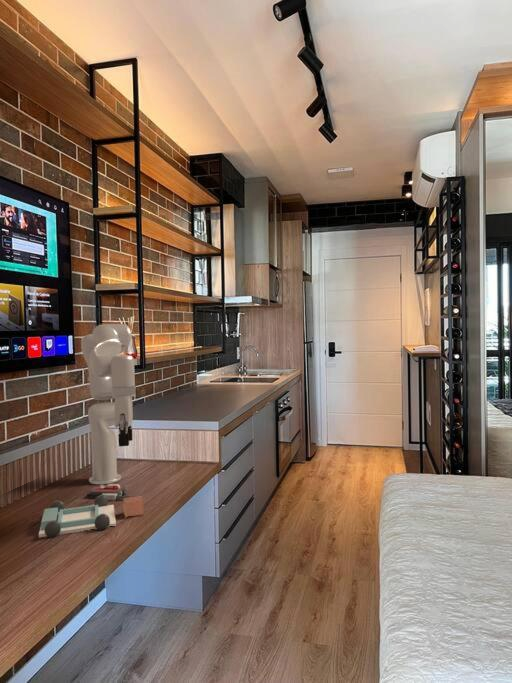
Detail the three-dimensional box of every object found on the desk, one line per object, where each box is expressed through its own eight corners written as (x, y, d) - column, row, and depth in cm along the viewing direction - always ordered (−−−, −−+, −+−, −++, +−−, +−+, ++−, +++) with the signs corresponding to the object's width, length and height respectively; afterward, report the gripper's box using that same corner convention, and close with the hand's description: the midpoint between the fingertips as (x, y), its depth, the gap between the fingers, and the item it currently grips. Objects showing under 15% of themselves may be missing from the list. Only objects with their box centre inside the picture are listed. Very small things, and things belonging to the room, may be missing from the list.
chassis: (44, 515, 165) (44, 502, 165) (113, 506, 172) (113, 493, 172) (38, 539, 146) (37, 524, 146) (116, 528, 153) (115, 513, 152)
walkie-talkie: (83, 501, 180) (136, 502, 177) (82, 489, 180) (136, 489, 177) (94, 493, 188) (145, 494, 186) (94, 481, 188) (144, 482, 185)
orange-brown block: (123, 513, 166) (123, 498, 166) (142, 510, 168) (141, 495, 167) (124, 518, 161) (124, 502, 161) (143, 515, 163) (143, 500, 163)
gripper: (115, 390, 175) (118, 439, 174) (107, 394, 158) (110, 449, 157) (137, 389, 176) (139, 438, 175) (132, 393, 159) (134, 447, 158)
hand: (125, 443), depth 166 cm, fingers open, 9 cm apart
